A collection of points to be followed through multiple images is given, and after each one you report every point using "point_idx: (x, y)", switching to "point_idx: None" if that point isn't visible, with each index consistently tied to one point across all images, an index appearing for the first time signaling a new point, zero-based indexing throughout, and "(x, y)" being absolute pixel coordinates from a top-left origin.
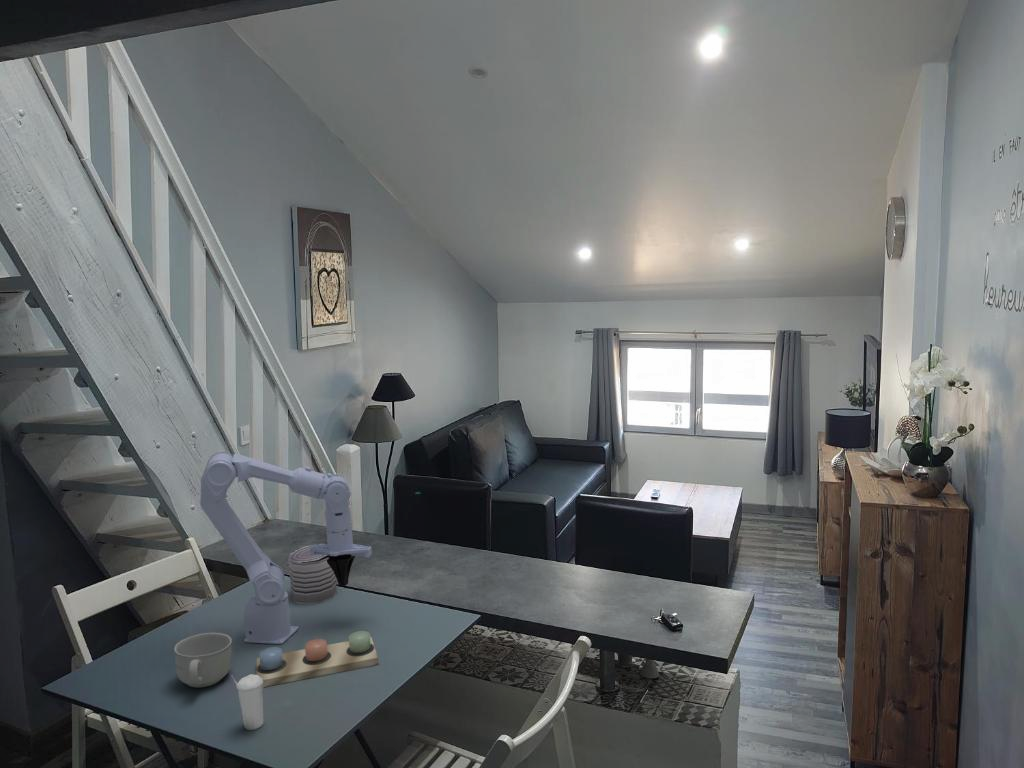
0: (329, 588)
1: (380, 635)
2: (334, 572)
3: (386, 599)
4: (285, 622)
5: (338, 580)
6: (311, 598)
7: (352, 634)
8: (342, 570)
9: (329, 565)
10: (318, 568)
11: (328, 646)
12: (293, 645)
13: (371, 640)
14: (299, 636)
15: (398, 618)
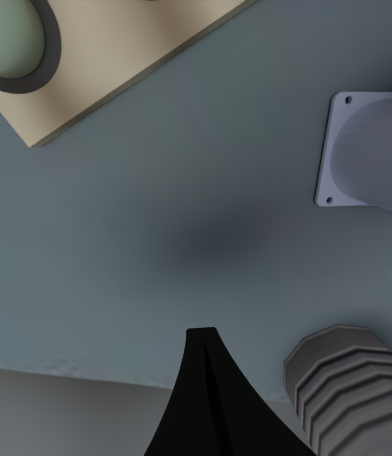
0: (300, 383)
1: (46, 201)
2: (251, 393)
3: (147, 378)
4: (367, 142)
5: (219, 350)
6: (333, 341)
7: (4, 18)
8: (185, 418)
9: (310, 451)
10: (369, 442)
11: (147, 45)
12: (293, 98)
13: (10, 118)
14: (295, 160)
15: (56, 301)
